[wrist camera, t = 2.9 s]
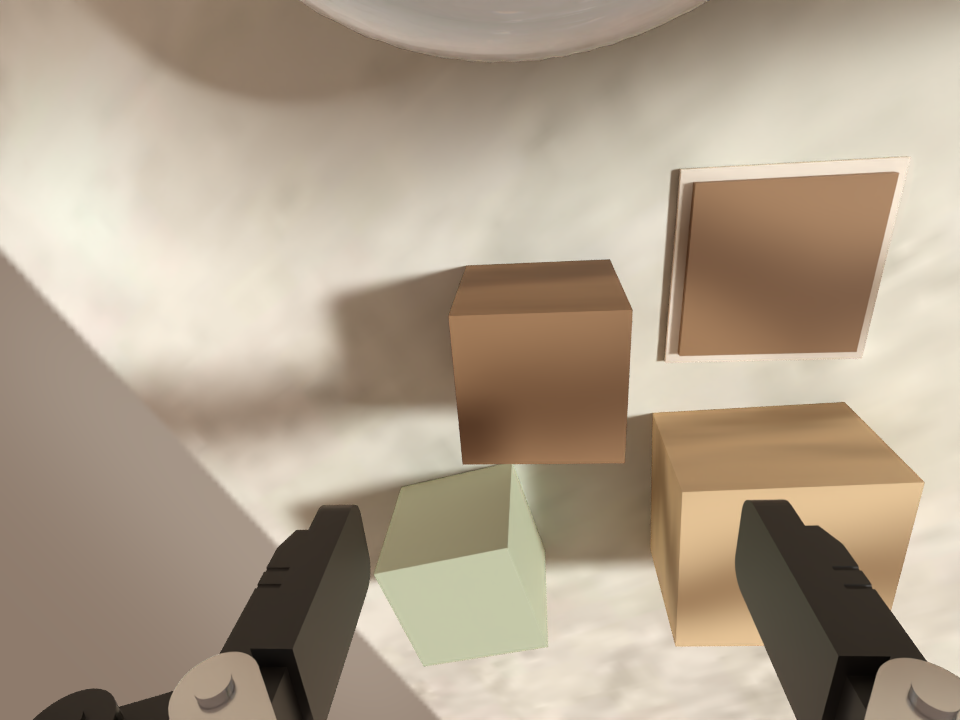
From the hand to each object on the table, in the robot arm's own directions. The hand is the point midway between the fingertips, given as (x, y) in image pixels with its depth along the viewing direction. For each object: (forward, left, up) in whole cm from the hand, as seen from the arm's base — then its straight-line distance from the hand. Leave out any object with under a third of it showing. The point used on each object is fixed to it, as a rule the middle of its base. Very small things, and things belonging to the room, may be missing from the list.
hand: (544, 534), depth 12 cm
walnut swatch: (-3, +8, -10) cm, 13 cm away
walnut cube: (-1, 0, -10) cm, 10 cm away
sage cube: (+8, -3, -10) cm, 14 cm away
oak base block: (+6, +8, -10) cm, 15 cm away
